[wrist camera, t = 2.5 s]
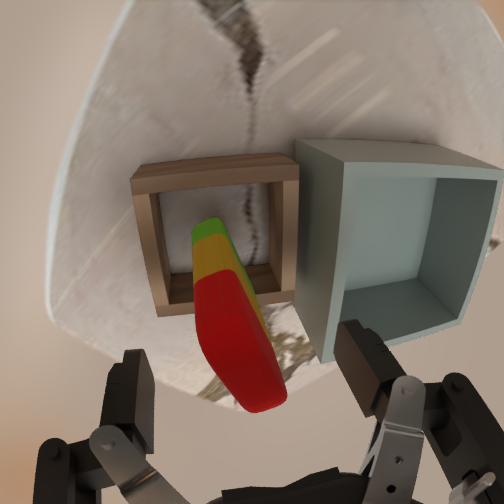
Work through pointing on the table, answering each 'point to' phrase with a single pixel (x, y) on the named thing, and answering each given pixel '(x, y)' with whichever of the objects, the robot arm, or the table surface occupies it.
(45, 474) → the robot arm
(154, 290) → the collar
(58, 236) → the table surface
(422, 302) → the bin
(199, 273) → the popsicle
